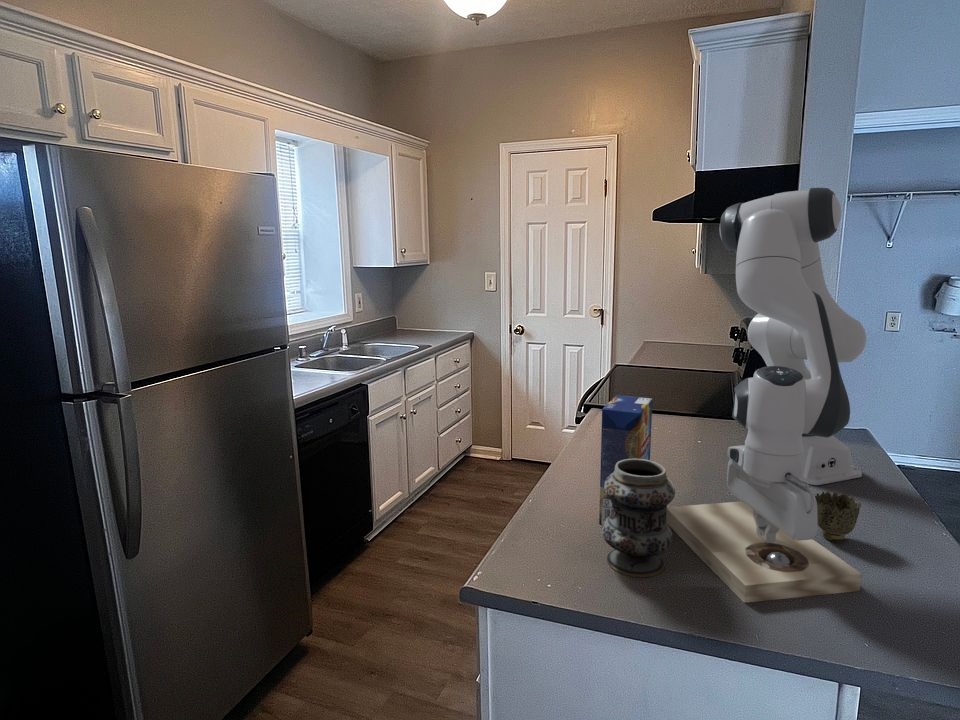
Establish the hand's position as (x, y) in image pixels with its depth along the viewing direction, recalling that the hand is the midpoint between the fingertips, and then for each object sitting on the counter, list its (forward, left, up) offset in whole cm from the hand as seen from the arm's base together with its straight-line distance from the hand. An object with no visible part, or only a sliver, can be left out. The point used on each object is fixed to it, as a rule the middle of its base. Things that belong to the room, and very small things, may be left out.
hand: (765, 538), depth 102 cm
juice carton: (+17, -22, -5) cm, 28 cm away
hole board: (0, -4, -5) cm, 6 cm away
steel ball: (0, +4, -3) cm, 5 cm away
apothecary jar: (+22, -4, -5) cm, 23 cm away
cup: (-18, -6, -5) cm, 20 cm away
